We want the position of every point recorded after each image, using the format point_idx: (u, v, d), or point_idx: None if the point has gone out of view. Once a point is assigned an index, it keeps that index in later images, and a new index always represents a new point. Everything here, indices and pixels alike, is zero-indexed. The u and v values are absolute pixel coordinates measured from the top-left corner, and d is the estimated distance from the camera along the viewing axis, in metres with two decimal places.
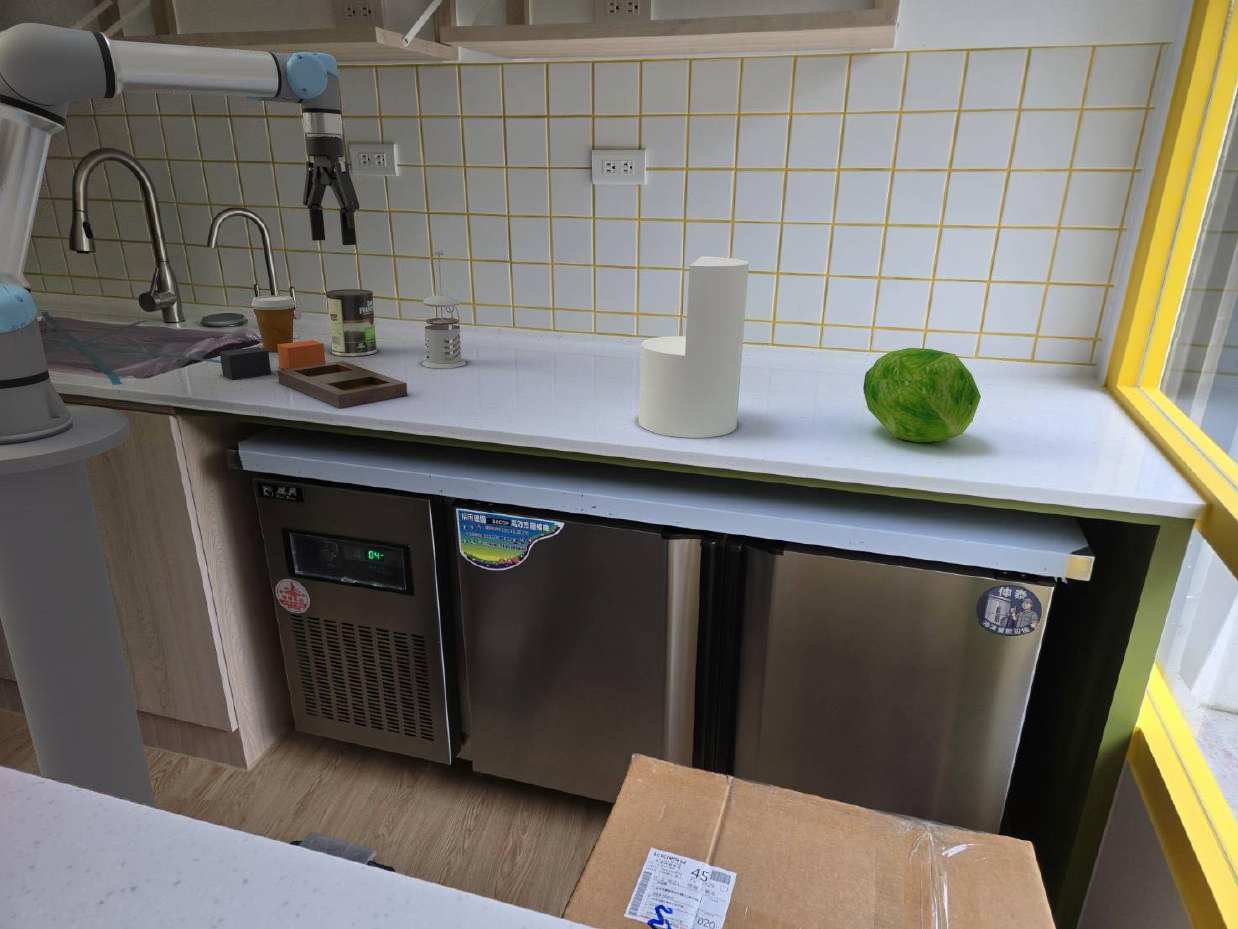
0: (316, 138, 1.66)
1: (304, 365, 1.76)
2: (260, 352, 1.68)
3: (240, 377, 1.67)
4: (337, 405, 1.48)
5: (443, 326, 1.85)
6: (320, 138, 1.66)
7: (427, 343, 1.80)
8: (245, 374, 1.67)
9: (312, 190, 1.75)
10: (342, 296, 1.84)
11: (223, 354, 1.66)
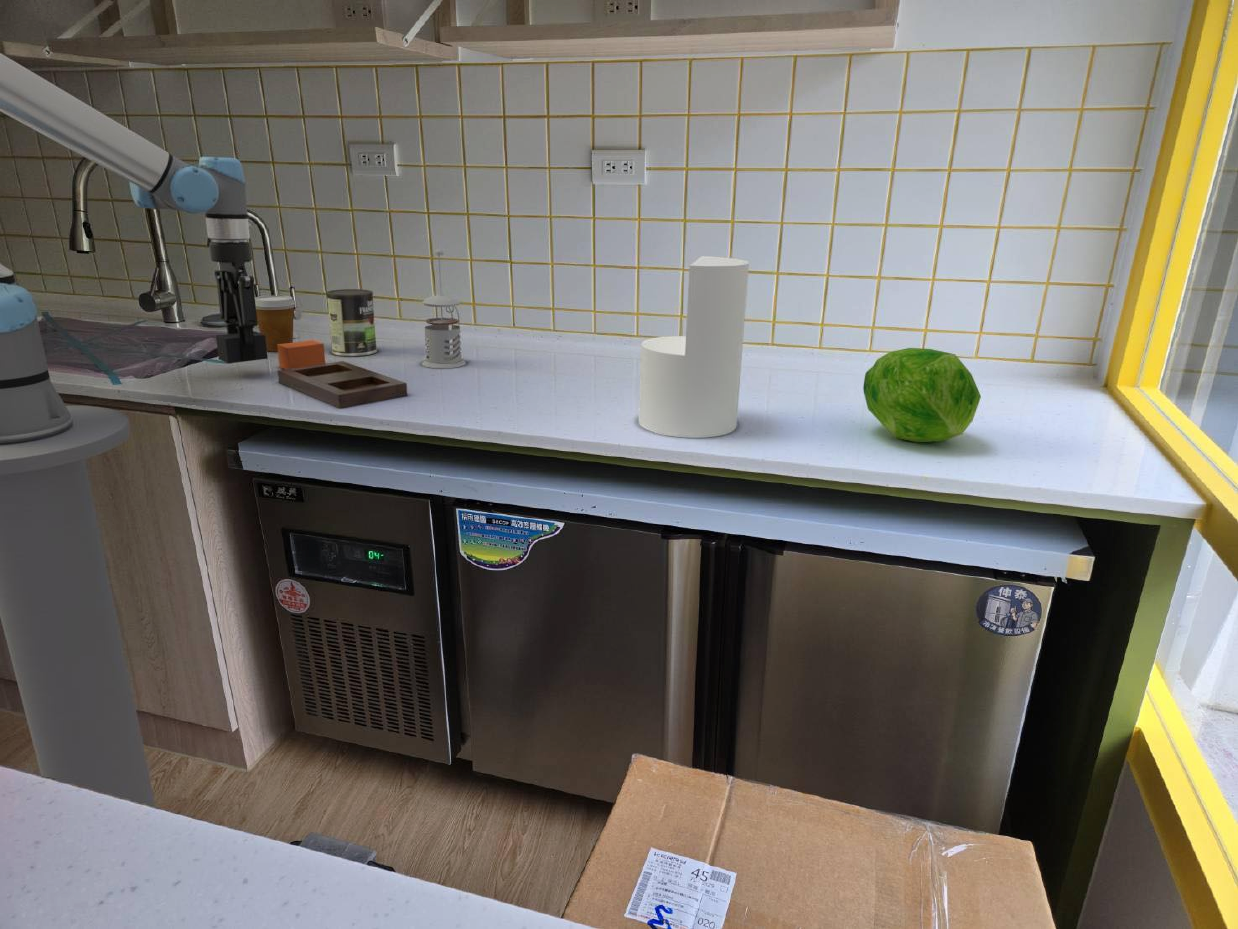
0: (219, 244, 1.58)
1: (304, 365, 1.76)
2: (257, 336, 1.67)
3: (236, 361, 1.65)
4: (337, 405, 1.48)
5: (443, 326, 1.85)
6: (223, 244, 1.58)
7: (427, 343, 1.80)
8: None
9: (225, 301, 1.66)
10: (342, 296, 1.84)
11: (219, 337, 1.65)
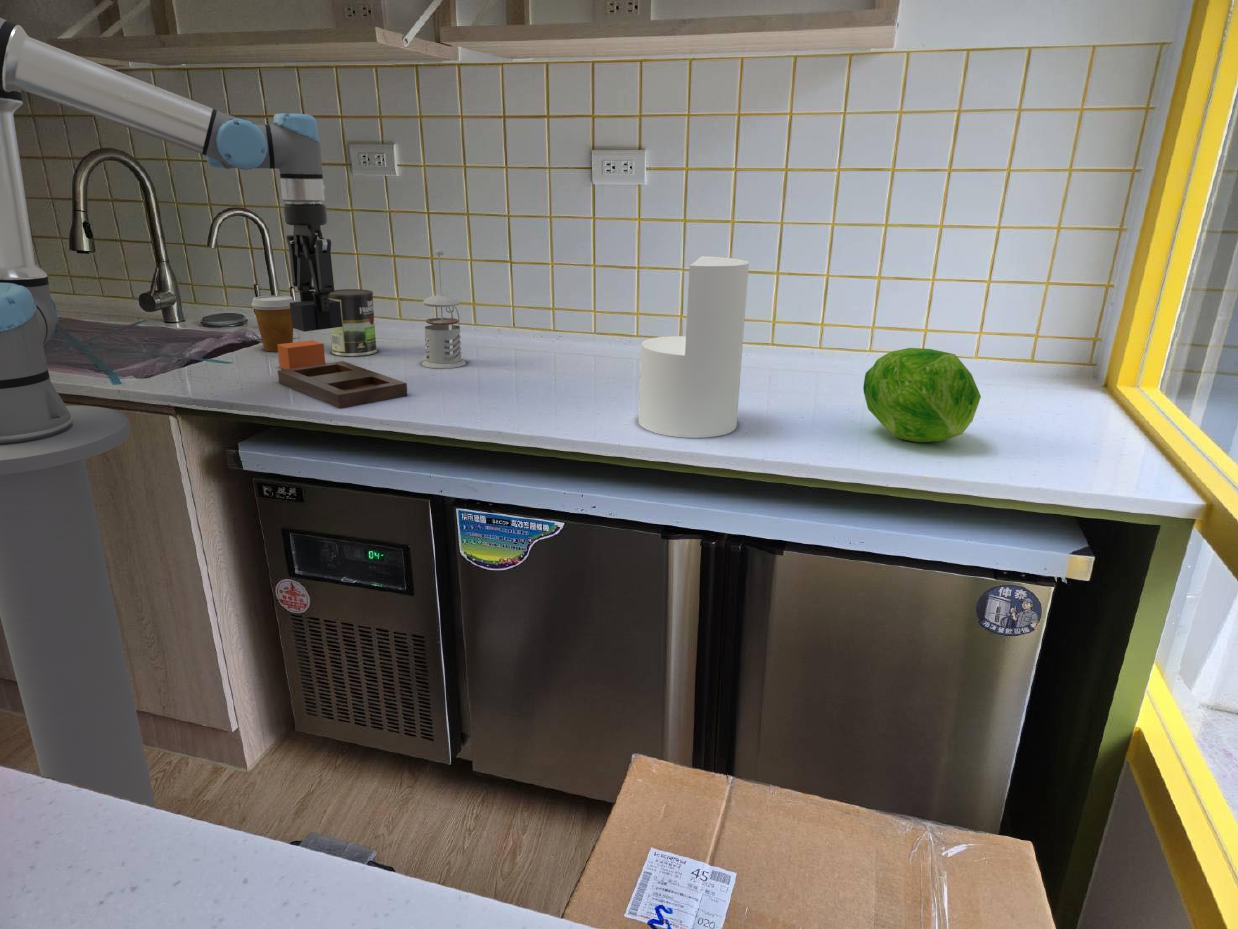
0: (295, 206, 1.51)
1: (304, 365, 1.76)
2: (332, 303, 1.60)
3: (312, 329, 1.59)
4: (337, 405, 1.48)
5: (443, 326, 1.85)
6: (299, 206, 1.51)
7: (427, 343, 1.80)
8: None
9: (298, 266, 1.59)
10: (342, 296, 1.84)
11: (294, 305, 1.58)
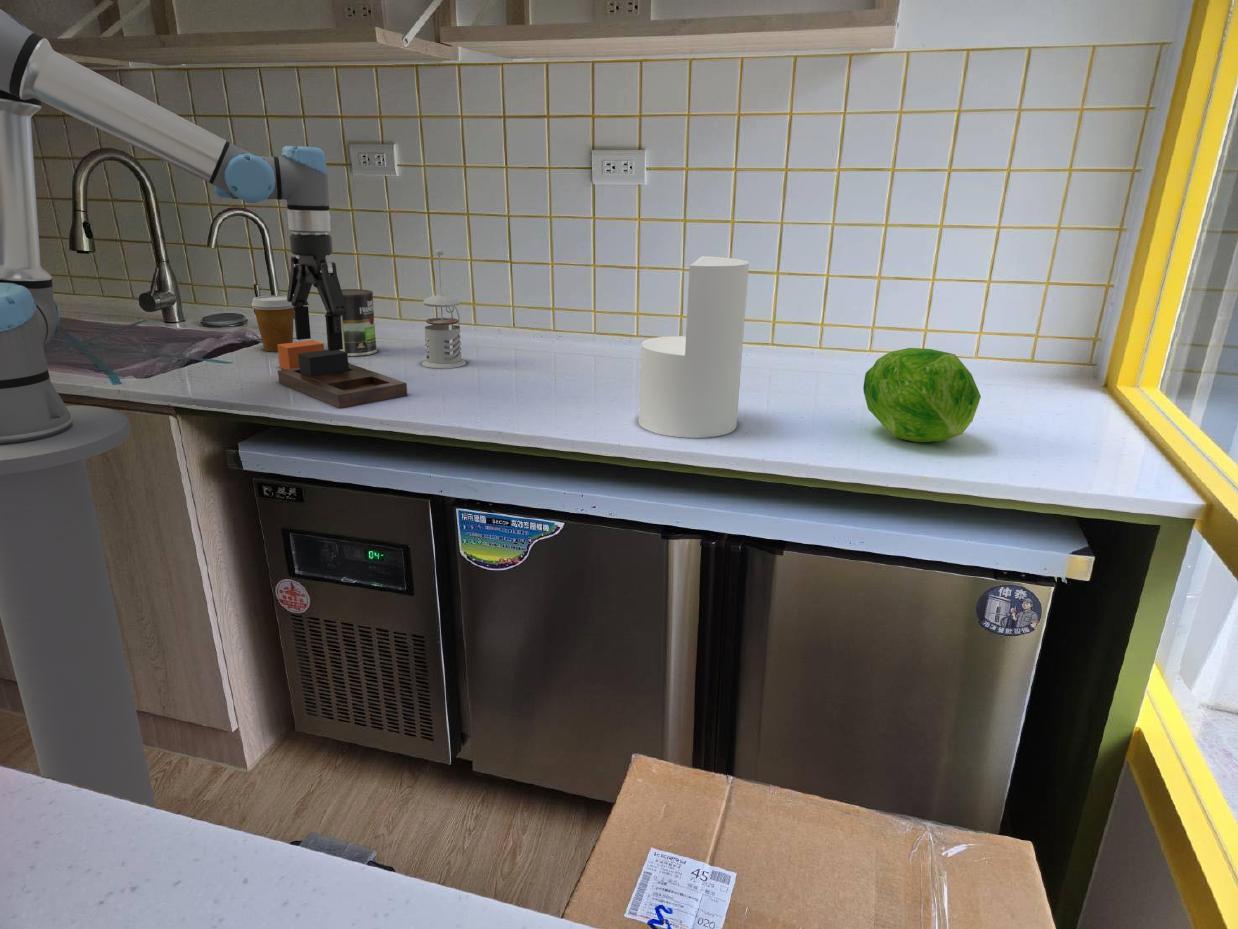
0: (301, 237, 1.53)
1: None
2: (339, 354, 1.64)
3: None
4: (337, 405, 1.48)
5: (443, 326, 1.85)
6: (306, 237, 1.53)
7: (427, 343, 1.80)
8: None
9: (297, 288, 1.62)
10: None
11: (302, 356, 1.61)
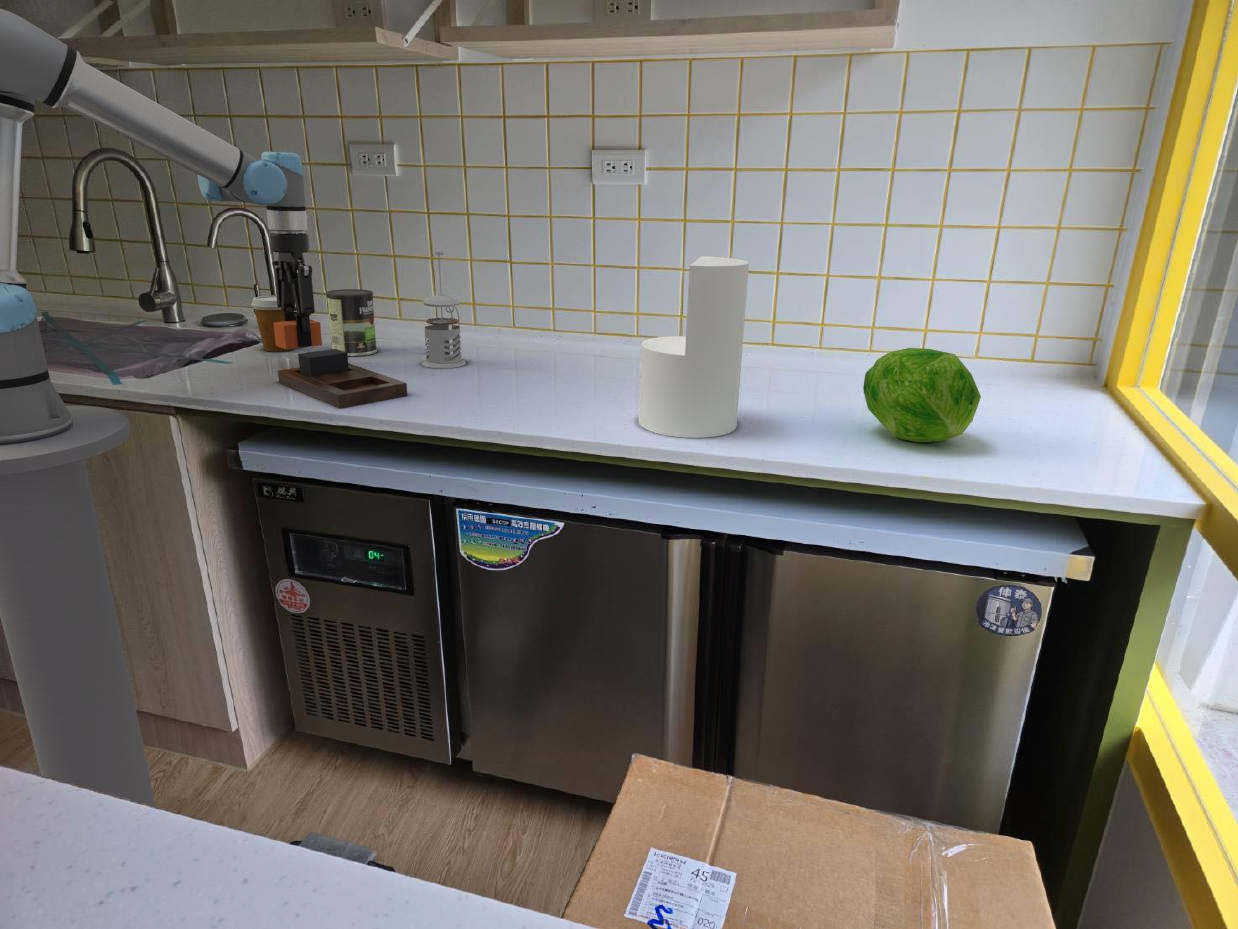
0: (280, 235, 1.65)
1: None
2: (339, 354, 1.64)
3: None
4: (337, 405, 1.48)
5: (443, 326, 1.85)
6: (284, 235, 1.65)
7: (427, 343, 1.80)
8: None
9: (282, 289, 1.73)
10: (342, 296, 1.84)
11: (302, 356, 1.61)
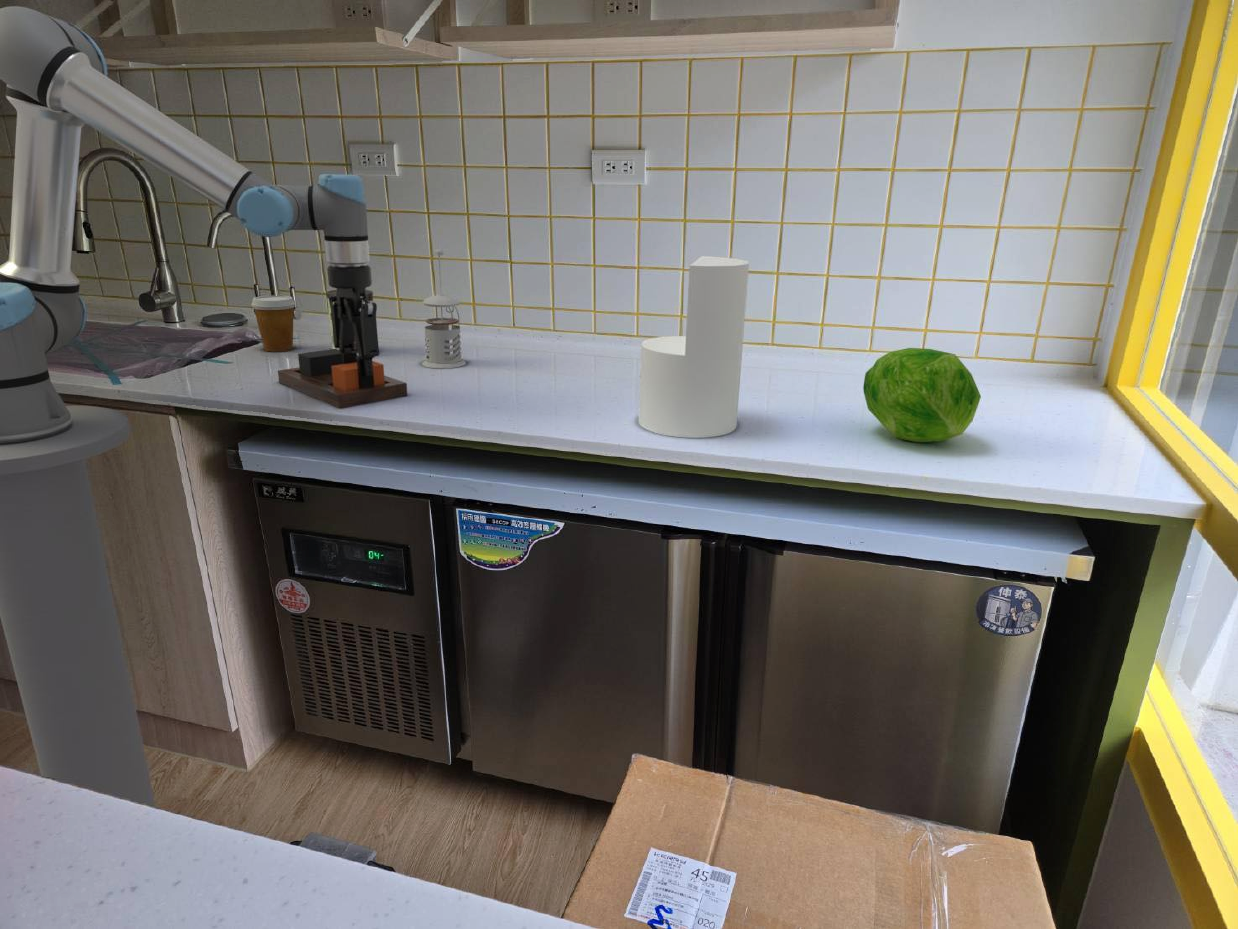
0: (340, 269, 1.45)
1: None
2: (339, 354, 1.64)
3: None
4: (337, 405, 1.48)
5: (443, 326, 1.85)
6: (345, 269, 1.45)
7: (427, 343, 1.80)
8: None
9: (341, 329, 1.53)
10: None
11: (302, 356, 1.61)
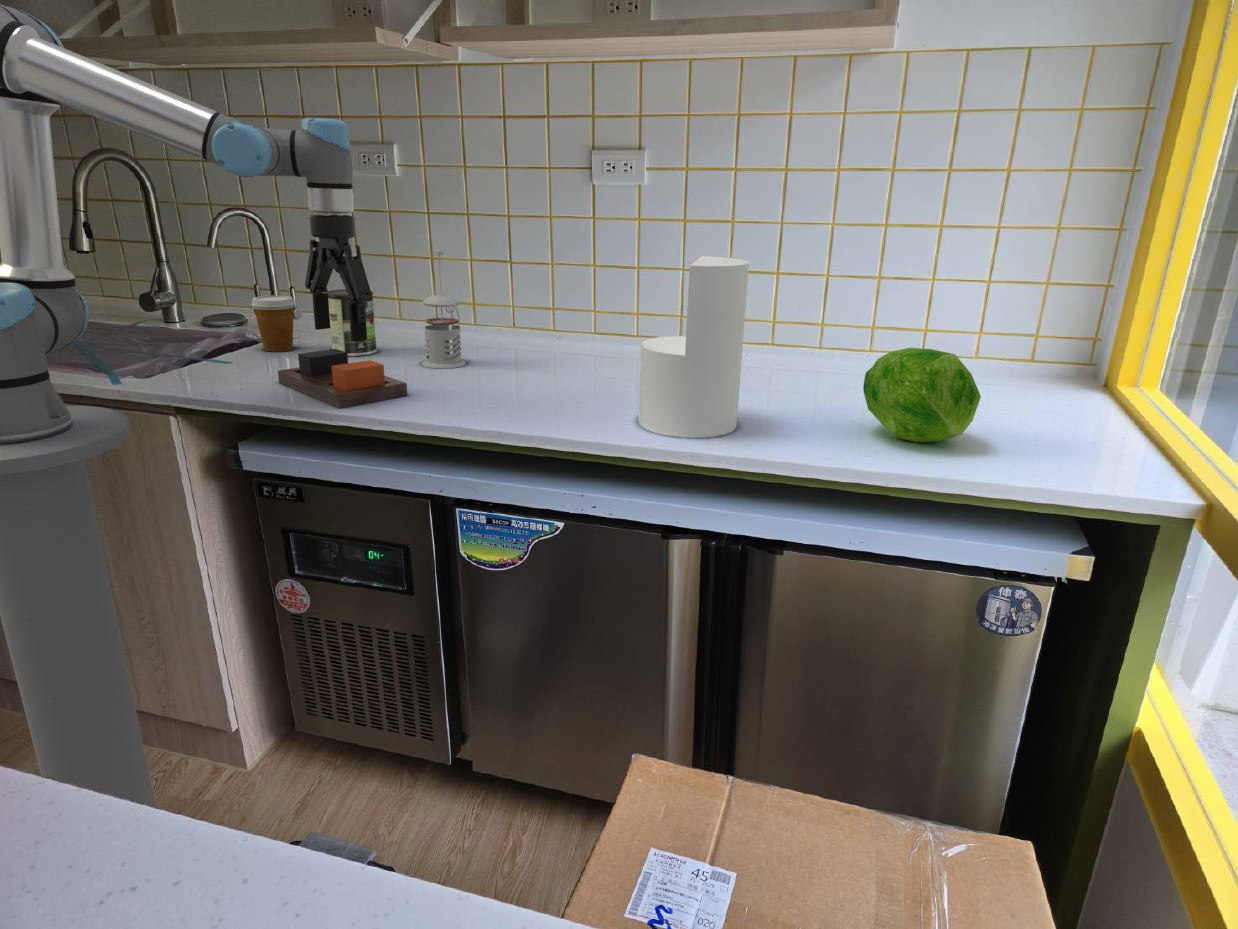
0: (323, 217, 1.40)
1: None
2: (339, 354, 1.64)
3: None
4: (337, 405, 1.48)
5: (443, 326, 1.85)
6: (327, 218, 1.40)
7: (427, 343, 1.80)
8: None
9: (316, 273, 1.50)
10: (342, 296, 1.84)
11: (302, 356, 1.61)
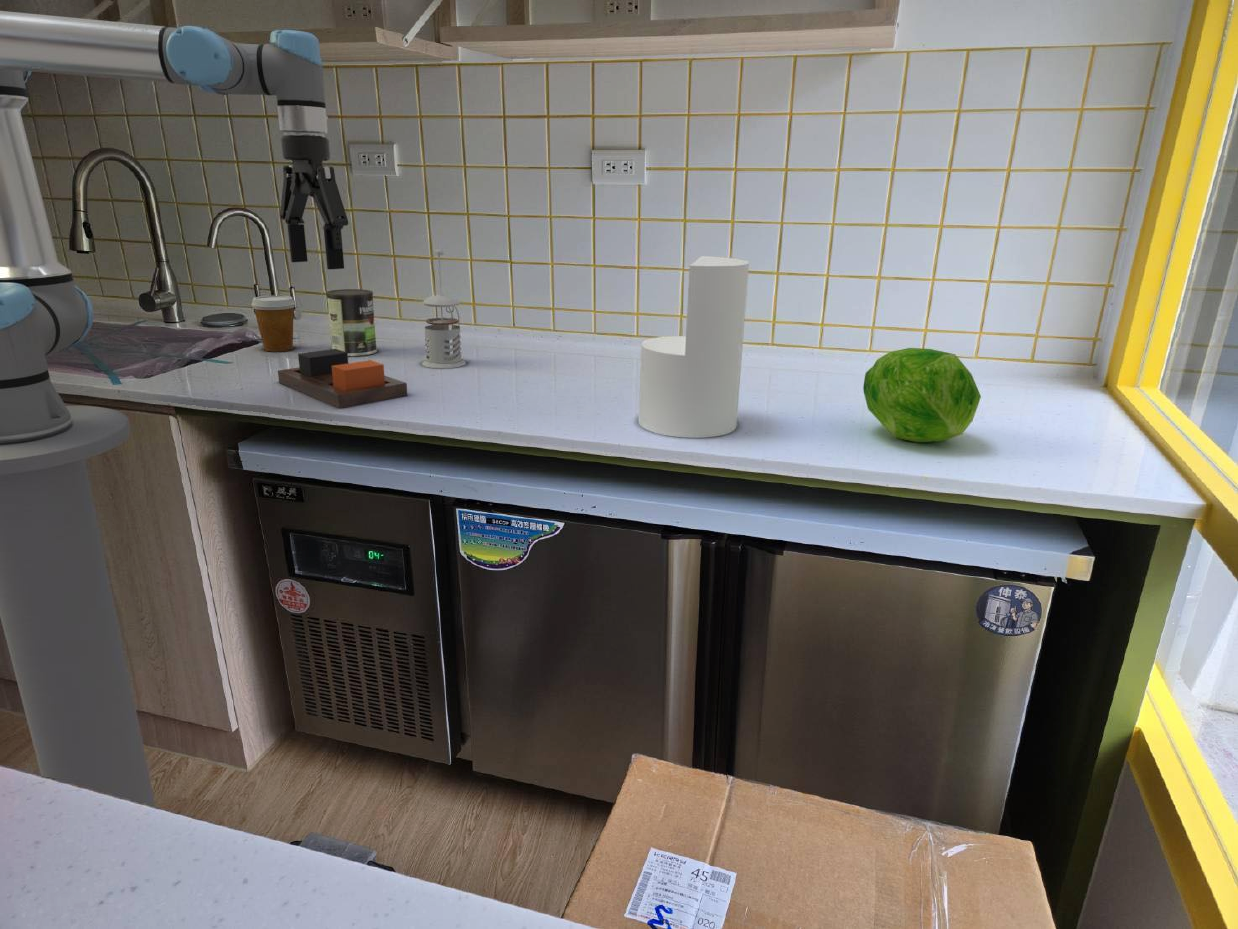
0: (294, 137, 1.34)
1: None
2: (339, 354, 1.64)
3: None
4: (337, 405, 1.48)
5: (443, 326, 1.85)
6: (299, 137, 1.34)
7: (427, 343, 1.80)
8: None
9: (291, 201, 1.43)
10: (342, 296, 1.84)
11: (302, 356, 1.61)
